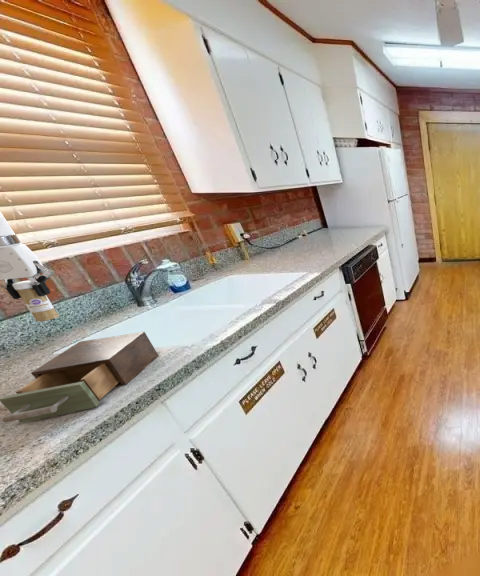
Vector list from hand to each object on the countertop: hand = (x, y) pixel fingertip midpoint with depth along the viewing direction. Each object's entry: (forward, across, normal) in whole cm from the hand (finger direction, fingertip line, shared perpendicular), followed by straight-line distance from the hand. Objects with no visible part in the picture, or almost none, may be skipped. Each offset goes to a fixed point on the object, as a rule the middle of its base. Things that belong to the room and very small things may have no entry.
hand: (32, 295), depth 96 cm
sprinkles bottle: (+9, 0, 0) cm, 9 cm away
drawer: (+16, +31, -47) cm, 58 cm away
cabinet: (+16, +31, -35) cm, 50 cm away
